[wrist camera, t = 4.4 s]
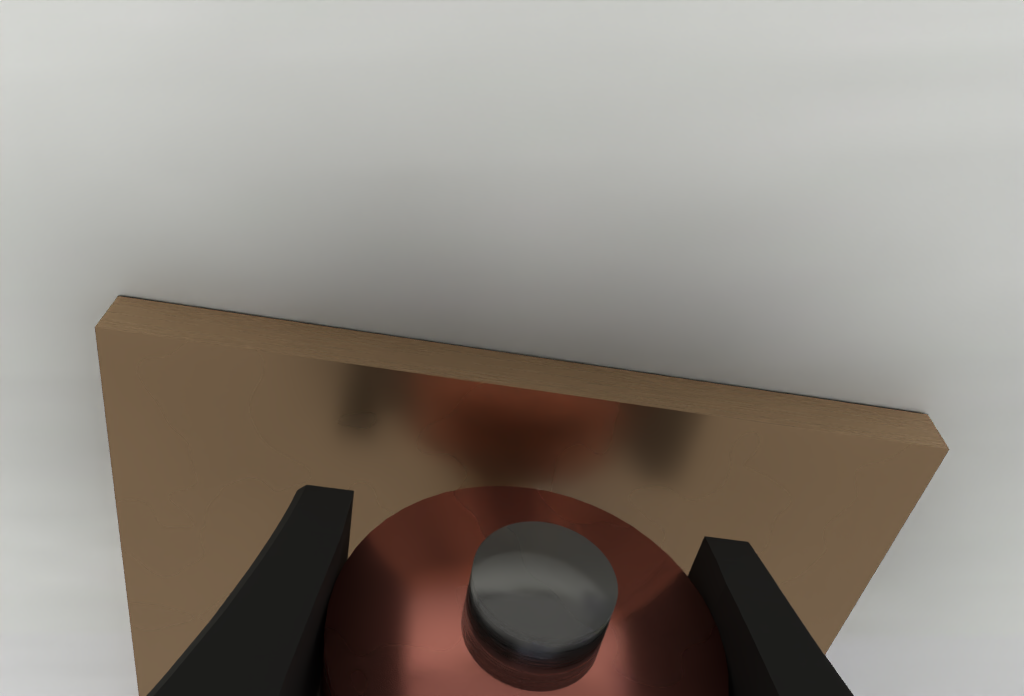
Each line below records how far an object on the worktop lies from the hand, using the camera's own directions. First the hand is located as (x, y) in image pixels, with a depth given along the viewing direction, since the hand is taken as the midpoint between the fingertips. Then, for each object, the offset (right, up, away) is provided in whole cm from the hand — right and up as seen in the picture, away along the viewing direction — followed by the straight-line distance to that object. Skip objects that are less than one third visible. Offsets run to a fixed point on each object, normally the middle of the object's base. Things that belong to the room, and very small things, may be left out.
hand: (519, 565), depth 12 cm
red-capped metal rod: (-1, -3, +3) cm, 5 cm away
